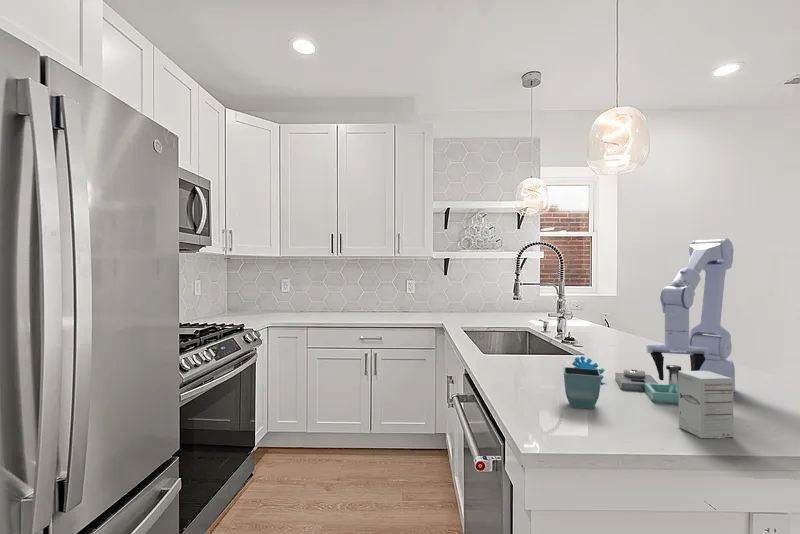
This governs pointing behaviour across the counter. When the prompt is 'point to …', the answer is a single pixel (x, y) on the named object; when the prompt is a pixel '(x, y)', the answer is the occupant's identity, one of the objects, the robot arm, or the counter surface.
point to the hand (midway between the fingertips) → (677, 380)
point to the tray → (661, 393)
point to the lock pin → (673, 378)
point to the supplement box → (706, 404)
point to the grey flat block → (633, 379)
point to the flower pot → (582, 386)
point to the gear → (586, 364)
